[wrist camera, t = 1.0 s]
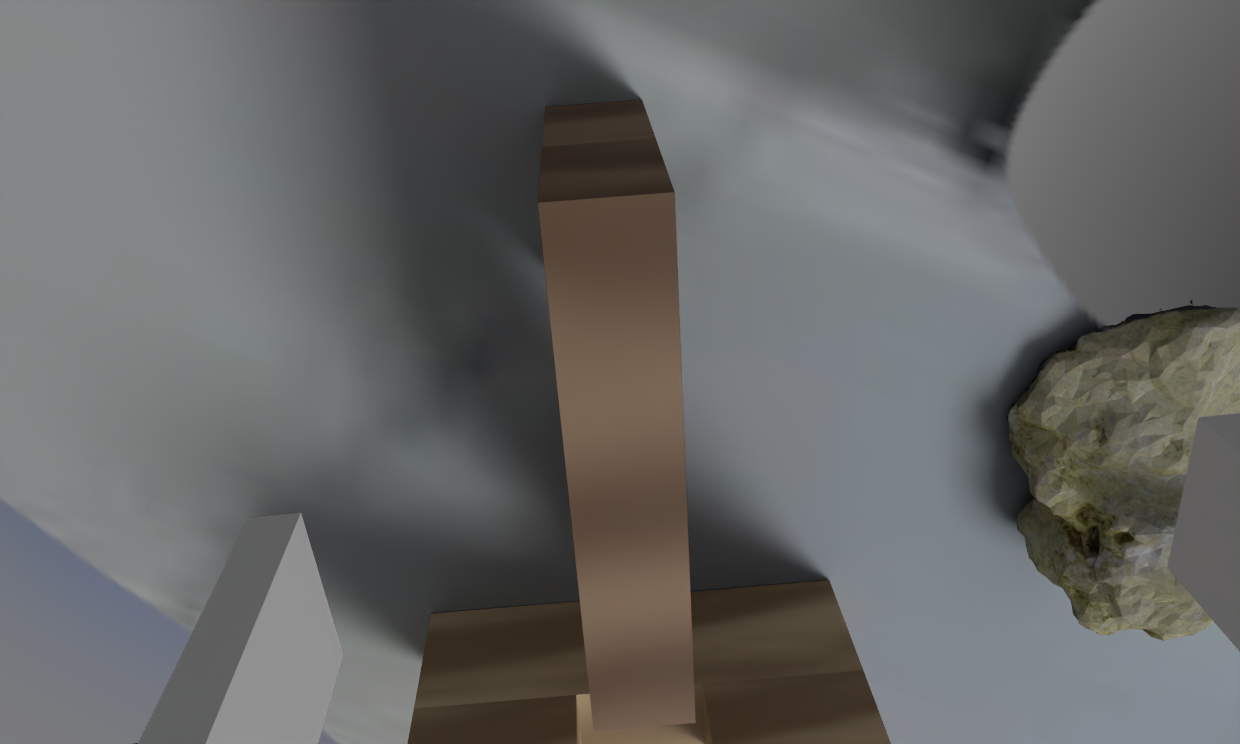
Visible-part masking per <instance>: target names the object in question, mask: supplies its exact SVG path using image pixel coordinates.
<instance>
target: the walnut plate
mask: <svg viewBox="0 0 1240 744" xmlns="http://www.w3.org/2000/svg"><path fill="white" fill-rule="evenodd" d="M538 210H539V220H540V229H541V239H542V248H543V258H544V267H545V277H546V286H547V295H548V305H549V314H550V324H551V333H552V343H553V352H554V362H555V371H556V380H557V390H558V399H559V409H560V418H561V428H562V437H563V447H564V456H565V466H566V475H567V484H568V494H569V503H570V513H571V522H572V532H573V541H574V551H575V560H576V569H577V579H578V588H579V598H580V607H581V617H582V626H583V636H584V645H585V655H586V664H587V673H588V683H589V692H590V702H591V711H592V721H593V730H594V731H606V730H617V729H629V728H640V727H652V726H663V725H675V724H686V723H696V719H695V694H694V669H693V644H692V618H691V593H690V568H689V543H688V518H687V493H686V468H685V442H684V417H683V392H682V367H681V342H680V317H679V292H678V266H677V241H676V216H675V192H674V189H673V186H672V184H671V181H670V178H669V175H668V172H667V169H666V167H665V164H664V161H663V158H662V155H661V152H660V150H659V147H658V144H657V141H656V138H655V135H654V132H653V130H652V127H651V124H650V121H649V118H648V115H647V113H646V110H645V107H644V104H643V101H642V100H630V101H616V102H603V103H590V104H577V105H564V106H551V107H545V118H544V130H543V143H542V155H541V168H540V180H539V193H538Z"/></svg>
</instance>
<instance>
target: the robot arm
mask: <svg viewBox="0 0 1240 744" xmlns="http://www.w3.org/2000/svg"><path fill="white" fill-rule="evenodd" d="M1167 568H1168V569H1169V570H1170V571H1171V573H1172V574H1173V575H1174V576H1175V577H1176V578H1177V580H1178V581H1179V582H1180V583H1181V584H1182V585H1183V586H1184V588H1185V589H1186V590H1187V591H1188V592H1189V593H1190V595H1191V596H1192V597H1193V598H1194V599H1195V600H1196V601H1197V603H1198V604H1199V605H1200V606H1201V607H1202V608H1203V610H1204V611H1205V612H1206V613H1207V614H1208V615H1209V616H1210V618H1211V619H1212V620H1213V621H1214V622H1215V623H1216V625H1217V626H1218V627H1219V628H1220V629H1221V630H1222V631H1223V633H1224V634H1225V635H1226V636H1227V637H1228V638H1229V640H1230V641H1231V642H1232V643H1233V644H1234V645H1235V646H1236V648H1237V649H1238V650H1239V651H1240V413H1235V414H1226V415H1216V416H1207V417H1198V421H1197V426H1196V430H1195V435H1194V440H1193V445H1192V450H1191V455H1190V459H1189V464H1188V469H1187V474H1186V479H1185V484H1184V488H1183V493H1182V498H1181V503H1180V508H1179V513H1178V517H1177V522H1176V527H1175V532H1174V537H1173V542H1172V546H1171V551H1170V556H1169V561H1168V566H1167ZM342 658H343V653H342V649H341V646H340V643H339V639H338V636H337V633H336V629H335V626H334V622H333V619H332V616H331V612H330V609H329V606H328V602H327V599H326V595H325V592H324V589H323V585H322V582H321V578H320V575H319V572H318V568H317V565H316V562H315V558H314V555H313V551H312V548H311V545H310V541H309V538H308V535H307V531H306V528H305V524H304V521H303V518H302V514H301V513H292V514H282V515H273V516H264V517H254V518H248V520H247V522H246V524H245V526H244V528H243V530H242V532H241V534H240V536H239V538H238V541H237V543H236V545H235V547H234V549H233V551H232V553H231V555H230V557H229V559H228V561H227V563H226V565H225V567H224V569H223V571H222V573H221V575H220V577H219V579H218V581H217V583H216V585H215V587H214V589H213V591H212V593H211V596H210V598H209V600H208V602H207V604H206V606H205V608H204V610H203V612H202V614H201V616H200V618H199V620H198V622H197V624H196V626H195V628H194V630H193V632H192V634H191V636H190V638H189V640H188V642H187V645H186V646H185V649H184V651H183V653H182V655H181V657H180V659H179V661H178V663H177V665H176V667H175V669H174V671H173V673H172V675H171V677H170V679H169V681H168V683H167V685H166V687H165V689H164V691H163V693H162V695H161V697H160V699H159V701H158V704H157V706H156V708H155V710H154V712H153V714H152V716H151V718H150V720H149V722H148V724H147V726H146V728H145V730H144V732H143V734H142V736H141V738H140V740H139V742H138V743H136V744H318V742H319V739H320V735H321V732H322V728H323V725H324V721H325V717H326V714H327V710H328V707H329V703H330V700H331V696H332V693H333V689H334V686H335V682H336V679H337V675H338V672H339V668H340V665H341V661H342Z"/></svg>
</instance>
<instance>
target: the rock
mask: <svg viewBox="0 0 1240 744" xmlns="http://www.w3.org/2000/svg"><path fill="white" fill-rule="evenodd" d="M1190 303H1191V304H1192V300H1191V301H1190ZM1160 310H1161V309H1160ZM1018 400H1019V401H1017V402H1016V403H1014V404H1013V405H1012V409H1011V410H1010V412H1009V415H1008V416H1007V417H1006V418H1007V419H1008V423H1009V432H1010V433H1009V441H1010V442H1011V444H1012V455H1013V457H1014V458H1015V459H1016V461H1017V462H1018V463H1019V465H1020V466H1021V467H1022V469H1023V470H1024V472H1025V473H1026V474H1027V476H1028V480H1029V489H1030V493H1031V494H1032V495H1033V499H1031V500H1029V501H1028V503H1027V504H1026V506H1025V507H1024V509H1023V510H1022V511H1021V512H1020V513H1019V515H1018V517H1017V529H1018V530H1019V531H1020V532H1021V533H1022V534H1023V536H1024V537H1025V541H1026V547H1027V552H1028V556H1029V558H1030V559H1031V560H1032V561H1033V563H1034V565H1035V566H1036V568H1037V570H1038V572H1040V573H1041V574H1043V575H1044V576H1045V577H1047V578H1048V579H1049V580H1050V581H1051V582H1052V583H1053V584H1055V585H1057V586H1060V587H1062V588H1063V589H1064V591H1065V593H1066V594H1067V596H1068V597H1069V599H1070V600H1071V604H1072V610H1073V615H1074V616H1075V617H1076V618H1077V619H1078V622H1079V624H1081V625H1082V626H1084V627H1085V628H1087V629H1090V630H1092V631H1095V632H1096V633H1097V634H1100V635H1111V634H1113V633H1114V632H1116V631H1120V630H1128V629H1142V630H1144V631H1145V632H1146V633H1147V634H1149V635H1150V636H1151V637H1153V638H1156V639H1160V640H1163V641H1164V640H1167V639H1170V638H1180V637H1182V636H1187V635H1195V634H1196V633H1197V632H1199V631H1200V630H1203V629H1205V628H1206V627H1208V626H1209V625H1211V624H1212V623H1214V621H1213V620H1212V619H1211V618H1210V616H1209V615H1208V614H1207V613H1206V612H1205V611H1204V610H1203V608H1202V607H1201V606H1200V605H1199V604H1198V603H1197V601H1196V600H1195V599H1194V598H1193V597H1192V596H1191V595H1190V593H1189V592H1188V591H1187V590H1186V589H1185V588H1184V586H1183V585H1182V584H1181V583H1180V582H1179V581H1178V580H1177V578H1176V577H1175V576H1174V575H1173V574H1172V573H1171V571H1170V570H1169V569H1168V568H1167V566H1168V561H1169V556H1170V551H1171V546H1172V542H1173V537H1174V532H1175V527H1176V522H1177V517H1178V513H1179V508H1180V503H1181V498H1182V493H1183V488H1184V484H1185V479H1186V474H1187V469H1188V464H1189V459H1190V455H1191V450H1192V445H1193V440H1194V435H1195V430H1196V426H1197V421H1198V417H1207V416H1216V415H1226V414H1235V413H1240V310H1239V309H1237V308H1216V307H1210V306H1206V305H1204V306H1190V305H1189V306H1184V307H1179V308H1175V309H1171V310H1166V311H1160V312H1157V313H1152V314H1133V315H1131V316H1129V317H1127V318H1126V320H1125V321H1122V322H1121V323H1119V324H1117V325H1110V326H1103V331H1100V330H1095V332H1092V333H1089V334H1086V335H1082V336H1081V337H1080V338H1079V340H1078V341H1077V342H1075V343H1074V344H1072V346H1071V348H1069V349H1066V350H1065V351H1062V350H1061V351H1059V352H1056V353H1054V354H1052V355H1050V356H1049V357H1048V358H1047V359H1046V360H1045V361H1043V364H1040V365H1039V367H1038V370H1037V375H1036V377H1035V378H1034V379H1033V381H1032V382H1031V384H1030V386H1028V387H1027V388H1026V389H1025V390H1024V391H1023V392H1022V394H1021V395H1020V397H1018Z"/></svg>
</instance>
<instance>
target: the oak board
mask: <svg viewBox="0 0 1240 744" xmlns="http://www.w3.org/2000/svg"><path fill="white" fill-rule="evenodd" d="M690 593H691V618H692V644H693V669H694V694H695V719H696V723H686V724H675V725H663V726H652V727H640V728H629V729H617V730H606V731H594V730H593V721H592V711H591V702H590V692H589V683H588V673H587V664H586V655H585V645H584V636H583V626H582V617H581V607H580V601H576V602H564V603H552V604H540V605H528V606H517V607H505V608H493V609H481V610H469V611H457V612H445V613H434V614H431V617H430V623H429V628H428V634H427V639H426V645H425V650H424V656H423V661H422V667H421V673H420V678H419V684H418V689H417V695H416V700H415V706H414V711H413V717H412V722H411V728H410V733H409V739H408V744H891V743H890V740H889V737H888V735H887V732H886V729H885V727H884V724H883V721H882V719H881V716H880V713H879V711H878V708H877V706H876V703H875V700H874V698H873V695H872V692H871V690H870V687H869V684H868V682H867V679H866V676H865V674H864V671H863V668H862V666H861V663H860V660H859V658H858V655H857V653H856V650H855V647H854V645H853V642H852V639H851V637H850V634H849V631H848V629H847V626H846V623H845V621H844V618H843V615H842V613H841V610H840V607H839V605H838V602H837V599H836V597H835V594H834V592H833V589H832V586H831V584H830V581H829V580H825V581H813V582H801V583H789V584H778V585H766V586H754V587H742V588H730V589H718V590H706V591H694V592H690Z"/></svg>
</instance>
